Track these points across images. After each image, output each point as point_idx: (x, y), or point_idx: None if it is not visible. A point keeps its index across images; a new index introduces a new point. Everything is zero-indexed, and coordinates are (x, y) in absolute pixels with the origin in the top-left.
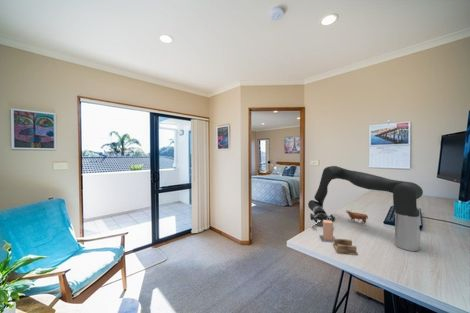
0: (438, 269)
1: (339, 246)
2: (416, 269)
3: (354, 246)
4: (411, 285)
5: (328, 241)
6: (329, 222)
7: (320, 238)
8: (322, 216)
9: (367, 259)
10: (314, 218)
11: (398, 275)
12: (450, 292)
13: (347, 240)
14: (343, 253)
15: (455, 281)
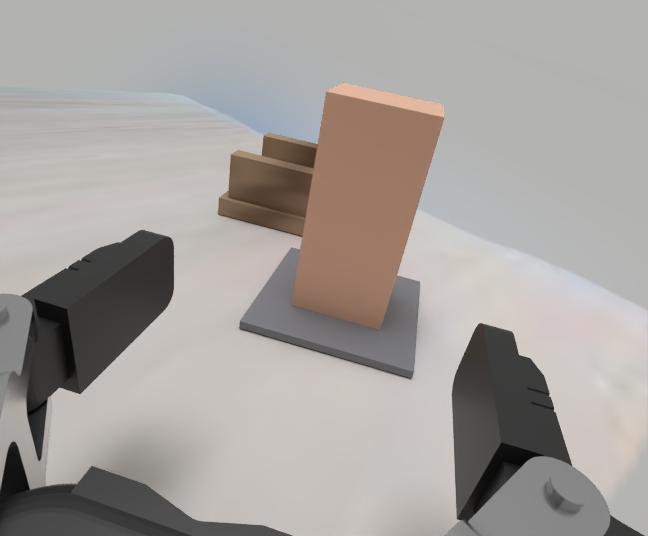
0: (2, 102)
1: None
2: (93, 118)
3: (274, 136)
4: (215, 118)
5: None
6: (377, 92)
7: (417, 316)
8: (180, 518)
9: None
10: (556, 430)
11: (205, 128)
12: (138, 97)
13: (266, 157)
14: None
15: (51, 93)
